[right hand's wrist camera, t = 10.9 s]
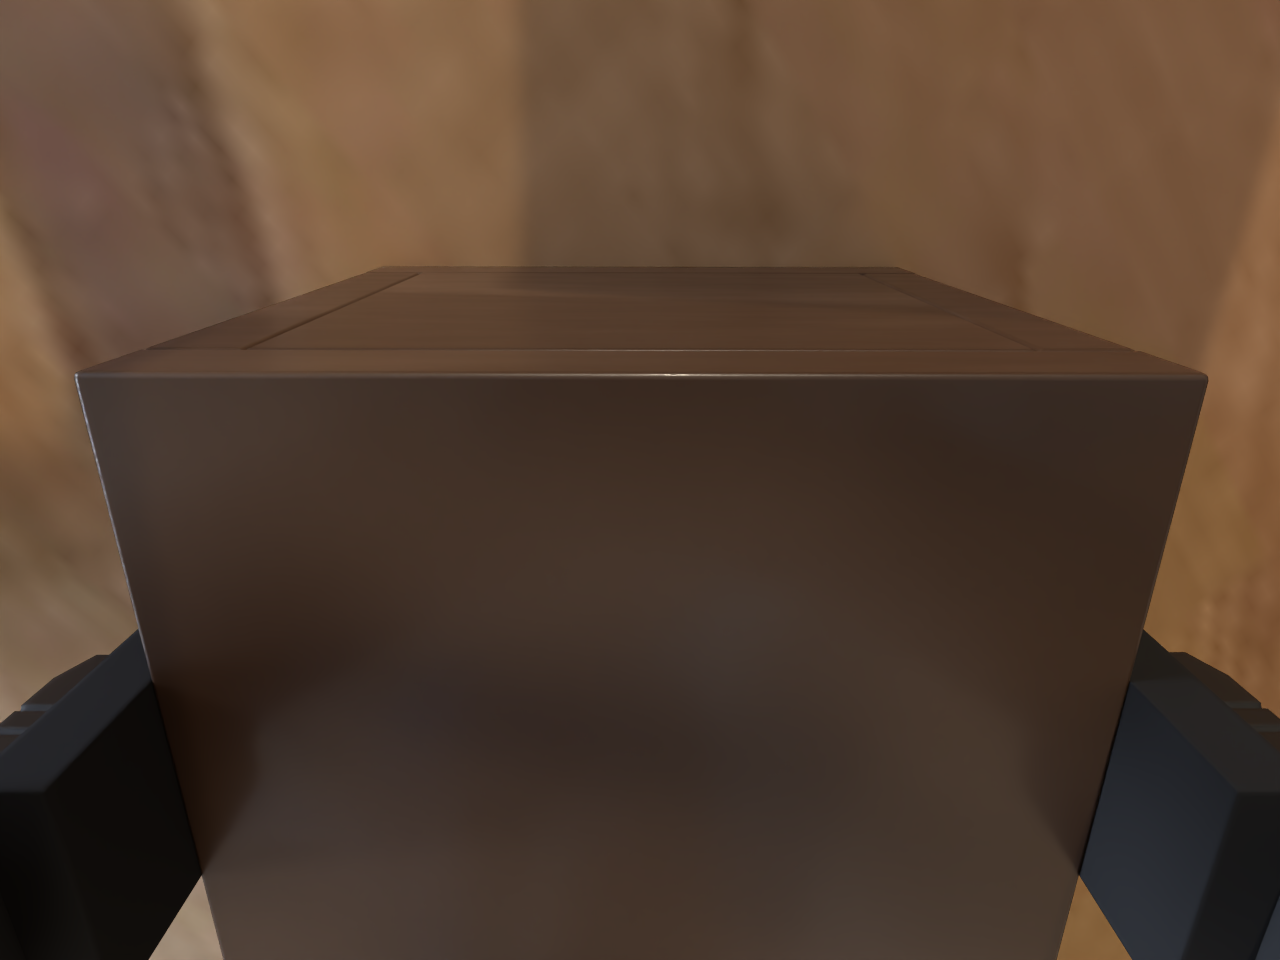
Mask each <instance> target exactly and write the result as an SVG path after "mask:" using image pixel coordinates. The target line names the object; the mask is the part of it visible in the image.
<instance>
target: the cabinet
mask: <svg viewBox="0 0 1280 960" xmlns="http://www.w3.org/2000/svg"><path fill="white" fill-rule="evenodd" d="M74 380H75V383H76V387H77V391H78V395H79V399H80V403H81V407H82V411H83V415H84V419H85V422H86V426H87V430H88V434H89V438H90V442H91V446H92V450H93V454H94V457H95V461H96V465H97V469H98V473H99V477H100V481H101V485H102V489H103V492H104V496H105V500H106V504H107V508H108V512H109V516H110V520H111V524H112V527H113V531H114V535H115V539H116V543H117V547H118V551H119V555H120V559H121V563H122V566H123V570H124V574H125V578H126V582H127V586H128V590H129V594H130V598H131V601H132V605H133V609H134V613H135V617H136V621H137V625H138V629H139V633H140V636H141V640H142V644H143V648H144V652H145V656H146V660H147V664H148V668H149V672H150V675H151V679H152V683H153V687H154V691H155V695H156V699H157V703H158V707H159V710H160V714H161V718H162V722H163V726H164V730H165V734H166V738H167V742H168V745H169V749H170V753H171V757H172V761H173V765H174V769H175V773H176V777H177V781H178V784H179V788H180V792H181V796H182V800H183V804H184V808H185V812H186V816H187V819H188V823H189V827H190V831H191V835H192V839H193V843H194V847H195V851H196V854H197V858H198V862H199V866H200V870H201V874H202V878H203V882H204V886H205V889H206V893H207V897H208V901H209V905H210V909H211V913H212V917H213V921H214V925H215V928H216V932H217V936H218V940H219V944H220V948H221V952H222V956H223V960H1056V959H1057V956H1058V952H1059V948H1060V944H1061V940H1062V937H1063V933H1064V929H1065V925H1066V921H1067V918H1068V914H1069V910H1070V906H1071V902H1072V898H1073V895H1074V891H1075V887H1076V883H1077V879H1078V876H1079V872H1080V868H1081V864H1082V860H1083V857H1084V853H1085V849H1086V845H1087V841H1088V838H1089V834H1090V830H1091V826H1092V822H1093V818H1094V815H1095V811H1096V807H1097V803H1098V799H1099V796H1100V792H1101V788H1102V784H1103V780H1104V777H1105V773H1106V769H1107V765H1108V761H1109V757H1110V754H1111V750H1112V746H1113V742H1114V738H1115V735H1116V731H1117V727H1118V723H1119V719H1120V716H1121V712H1122V708H1123V704H1124V700H1125V696H1126V693H1127V689H1128V685H1129V681H1130V677H1131V674H1132V670H1133V666H1134V662H1135V658H1136V655H1137V651H1138V647H1139V643H1140V639H1141V636H1142V632H1143V628H1144V624H1145V620H1146V616H1147V613H1148V609H1149V605H1150V601H1151V597H1152V594H1153V590H1154V586H1155V582H1156V578H1157V575H1158V571H1159V567H1160V563H1161V559H1162V555H1163V552H1164V548H1165V544H1166V540H1167V536H1168V533H1169V529H1170V525H1171V521H1172V517H1173V514H1174V510H1175V506H1176V502H1177V498H1178V495H1179V491H1180V487H1181V483H1182V479H1183V475H1184V472H1185V468H1186V464H1187V460H1188V456H1189V453H1190V449H1191V445H1192V441H1193V437H1194V434H1195V430H1196V426H1197V422H1198V418H1199V414H1200V411H1201V407H1202V403H1203V399H1204V395H1205V392H1206V388H1207V384H1208V376H1207V375H1206V374H1204V373H1201V372H1199V371H1196V370H1193V369H1190V368H1187V367H1184V366H1181V365H1178V364H1175V363H1172V362H1170V361H1167V360H1164V359H1161V358H1158V357H1155V356H1152V355H1149V354H1146V353H1144V352H1135V351H1134V350H1132V349H1129V348H1127V347H1124V346H1121V345H1118V344H1115V343H1112V342H1109V341H1106V340H1103V339H1101V338H1098V337H1095V336H1092V335H1089V334H1086V333H1083V332H1080V331H1078V330H1075V329H1072V328H1069V327H1066V326H1063V325H1060V324H1057V323H1054V322H1052V321H1049V320H1046V319H1043V318H1040V317H1037V316H1034V315H1031V314H1028V313H1026V312H1023V311H1020V310H1017V309H1014V308H1011V307H1008V306H1005V305H1003V304H1000V303H997V302H994V301H991V300H988V299H985V298H982V297H979V296H977V295H974V294H971V293H968V292H965V291H962V290H959V289H956V288H954V287H951V286H948V285H945V284H942V283H939V282H936V281H933V280H930V279H928V278H925V277H922V276H919V275H916V274H915V273H912V272H909V271H906V270H903V269H900V268H828V267H381V268H378V269H375V270H372V271H369V272H367V273H364V274H361V275H358V276H355V277H352V278H349V279H347V280H344V281H341V282H338V283H335V284H332V285H329V286H326V287H323V288H320V289H317V290H315V291H312V292H309V293H306V294H303V295H300V296H297V297H294V298H291V299H288V300H285V301H283V302H280V303H277V304H274V305H271V306H268V307H265V308H262V309H259V310H256V311H253V312H251V313H248V314H245V315H242V316H239V317H236V318H233V319H230V320H227V321H224V322H221V323H218V324H216V325H213V326H210V327H207V328H204V329H201V330H198V331H195V332H192V333H189V334H186V335H184V336H181V337H178V338H175V339H172V340H169V341H166V342H163V343H160V344H157V345H154V346H152V347H149V348H147V349H145V350H139V351H136V352H133V353H130V354H127V355H124V356H122V357H119V358H116V359H113V360H110V361H107V362H104V363H101V364H98V365H95V366H92V367H89V368H87V369H84V370H81V371H79V372H76V374H75V377H74Z"/></svg>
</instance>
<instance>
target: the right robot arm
mask: <svg viewBox="0 0 1280 960" xmlns="http://www.w3.org/2000/svg"><path fill="white" fill-rule="evenodd" d="M201 875H202V874H201V870H200V866H199V862H198V858H197V854H196V851H195V847H194V843H193V839H192V835H191V831H190V827H189V823H188V819H187V816H186V812H185V808H184V804H183V800H182V796H181V792H180V788H179V784H178V781H177V777H176V773H175V769H174V765H173V761H172V757H171V753H170V749H169V745H168V742H167V738H166V734H165V730H164V726H163V722H162V718H161V714H160V710H159V707H158V703H157V699H156V695H155V691H154V687H153V683H152V679H151V675H150V672H149V668H148V664H147V660H146V656H145V652H144V648H143V644H142V640H141V636H140V633H139V629H138V630H136V631H135V632H134V633H133V634H132V635H131V636H130V637H129V638H128V639H126V640H125V641H124V642H123V643H122V644H121V645H120V646H119V647H118V648H116V649H115V650H114V651H113V652H112V653H111V654H110V655H96V656H94V657H92V658H90V659H88V660H86V661H84V662H83V663H81V664H79V665H77V666H75V667H73V668H72V669H70V670H68V671H66V672H64V673H62V674H60V675H59V676H57V677H55V678H53V679H52V680H51V681H50V682H48V683H47V684H46V685H45V686H44V687H43V688H41V689H40V690H39V691H38V692H37V693H36V694H34V695H33V696H32V697H31V698H30V699H29V700H27V701H26V702H25V703H24V704H23V705H22V706H21V710H20V711H14V712H13V713H12V714H11V715H10V716H9V717H7V718H6V719H5V720H4V721H3V722H2V723H0V960H149V958H150V957H151V955H152V953H153V952H154V950H155V949H156V947H157V945H158V944H159V942H160V941H161V939H162V937H163V936H164V934H165V933H166V931H167V929H168V928H169V926H170V925H171V923H172V922H173V920H174V918H175V917H176V915H177V914H178V912H179V910H180V909H181V907H182V906H183V904H184V902H185V901H186V899H187V898H188V896H189V894H190V893H191V891H192V890H193V888H194V887H195V885H196V883H197V882H198V880H199V879H200V877H201ZM1079 876H1080V877H1081V879H1082V880H1083V882H1084V884H1085V885H1086V887H1087V888H1088V890H1089V892H1090V893H1091V895H1092V896H1093V898H1094V899H1095V901H1096V903H1097V904H1098V906H1099V907H1100V909H1101V911H1102V912H1103V914H1104V915H1105V917H1106V919H1107V920H1108V922H1109V923H1110V925H1111V926H1112V928H1113V930H1114V931H1115V933H1116V934H1117V936H1118V938H1119V939H1120V941H1121V942H1122V944H1123V946H1124V947H1125V949H1126V950H1127V952H1128V954H1129V955H1130V957H1131V958H1132V960H1280V719H1279V718H1278V717H1277V716H1276V715H1274V714H1273V713H1272V712H1271V711H1270V710H1269V709H1262V708H1261V703H1260V702H1259V701H1258V700H1257V699H1256V698H1254V697H1253V696H1252V695H1251V694H1250V693H1248V692H1247V691H1246V690H1245V689H1244V688H1243V687H1241V686H1240V685H1239V684H1238V683H1237V682H1235V681H1234V680H1233V679H1232V678H1231V677H1230V676H1228V675H1226V674H1225V673H1223V672H1221V671H1219V670H1217V669H1215V668H1213V667H1212V666H1210V665H1208V664H1206V663H1204V662H1202V661H1200V660H1198V659H1197V658H1195V657H1193V656H1191V655H1189V654H1187V653H1185V652H1168V651H1167V650H1166V649H1165V648H1163V647H1162V646H1161V645H1160V644H1159V643H1158V642H1157V641H1156V640H1155V639H1153V638H1152V637H1151V636H1150V635H1149V634H1148V633H1147V632H1146V631H1144V630H1143V632H1142V636H1141V639H1140V643H1139V647H1138V651H1137V655H1136V658H1135V662H1134V666H1133V670H1132V674H1131V677H1130V681H1129V685H1128V689H1127V693H1126V696H1125V700H1124V704H1123V708H1122V712H1121V716H1120V719H1119V723H1118V727H1117V731H1116V735H1115V738H1114V742H1113V746H1112V750H1111V754H1110V757H1109V761H1108V765H1107V769H1106V773H1105V777H1104V780H1103V784H1102V788H1101V792H1100V796H1099V799H1098V803H1097V807H1096V811H1095V815H1094V818H1093V822H1092V826H1091V830H1090V834H1089V838H1088V841H1087V845H1086V849H1085V853H1084V857H1083V860H1082V864H1081V868H1080V872H1079Z"/></svg>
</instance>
